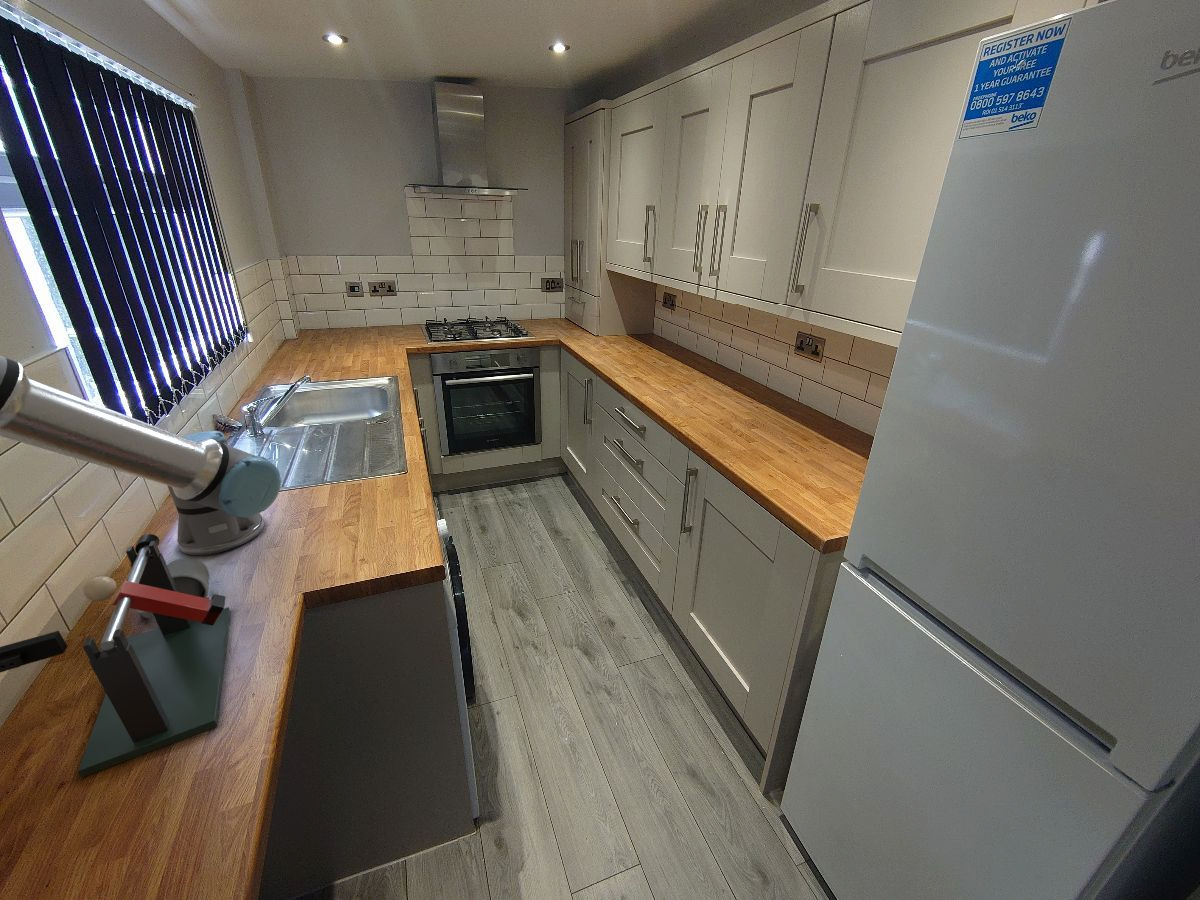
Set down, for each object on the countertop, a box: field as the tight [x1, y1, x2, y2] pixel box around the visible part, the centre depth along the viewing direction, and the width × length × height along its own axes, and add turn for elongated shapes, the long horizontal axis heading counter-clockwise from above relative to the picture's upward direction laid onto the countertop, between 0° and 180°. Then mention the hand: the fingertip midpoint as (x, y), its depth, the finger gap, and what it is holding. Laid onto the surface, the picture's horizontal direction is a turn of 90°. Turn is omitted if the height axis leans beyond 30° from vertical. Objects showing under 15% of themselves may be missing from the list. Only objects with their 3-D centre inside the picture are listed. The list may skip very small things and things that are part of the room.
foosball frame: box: [77, 541, 231, 778], centre depth 74 cm, size 26×14×17 cm, turn 30°
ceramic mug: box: [137, 557, 210, 619], centre depth 92 cm, size 11×8×8 cm
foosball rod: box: [82, 533, 226, 651], centre depth 75 cm, size 26×4×16 cm
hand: (61, 642), depth 69 cm, fingers closed
